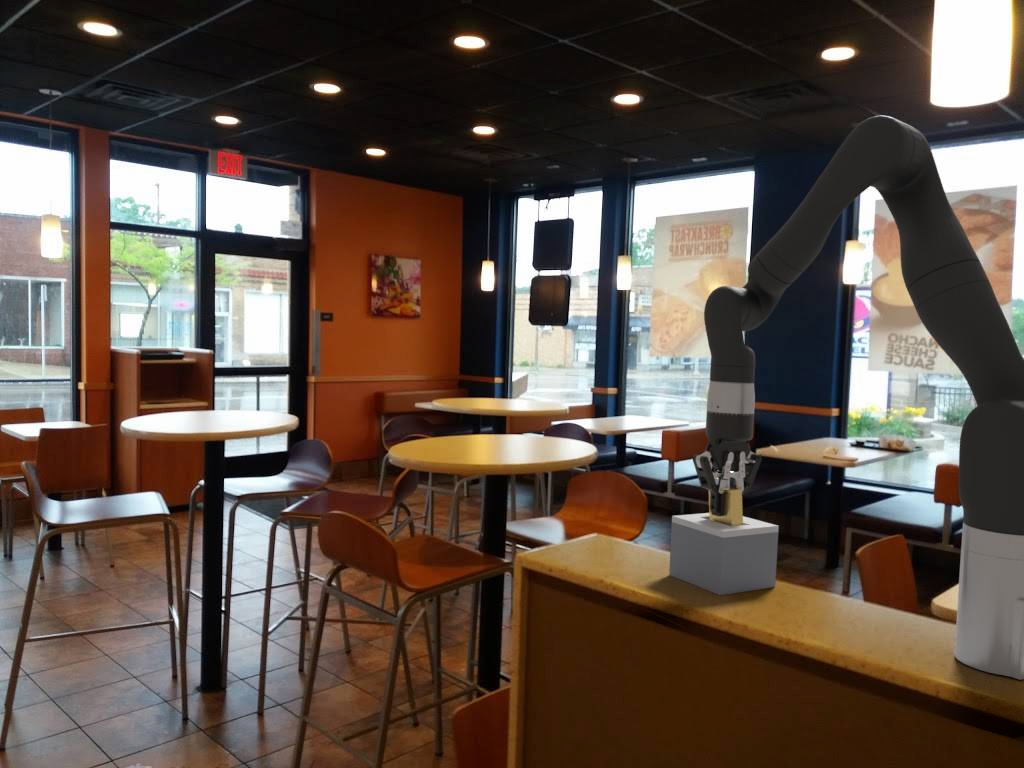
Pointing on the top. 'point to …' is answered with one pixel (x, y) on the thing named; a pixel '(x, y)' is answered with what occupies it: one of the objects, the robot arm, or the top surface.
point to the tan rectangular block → (730, 508)
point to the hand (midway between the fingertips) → (724, 514)
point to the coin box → (723, 553)
